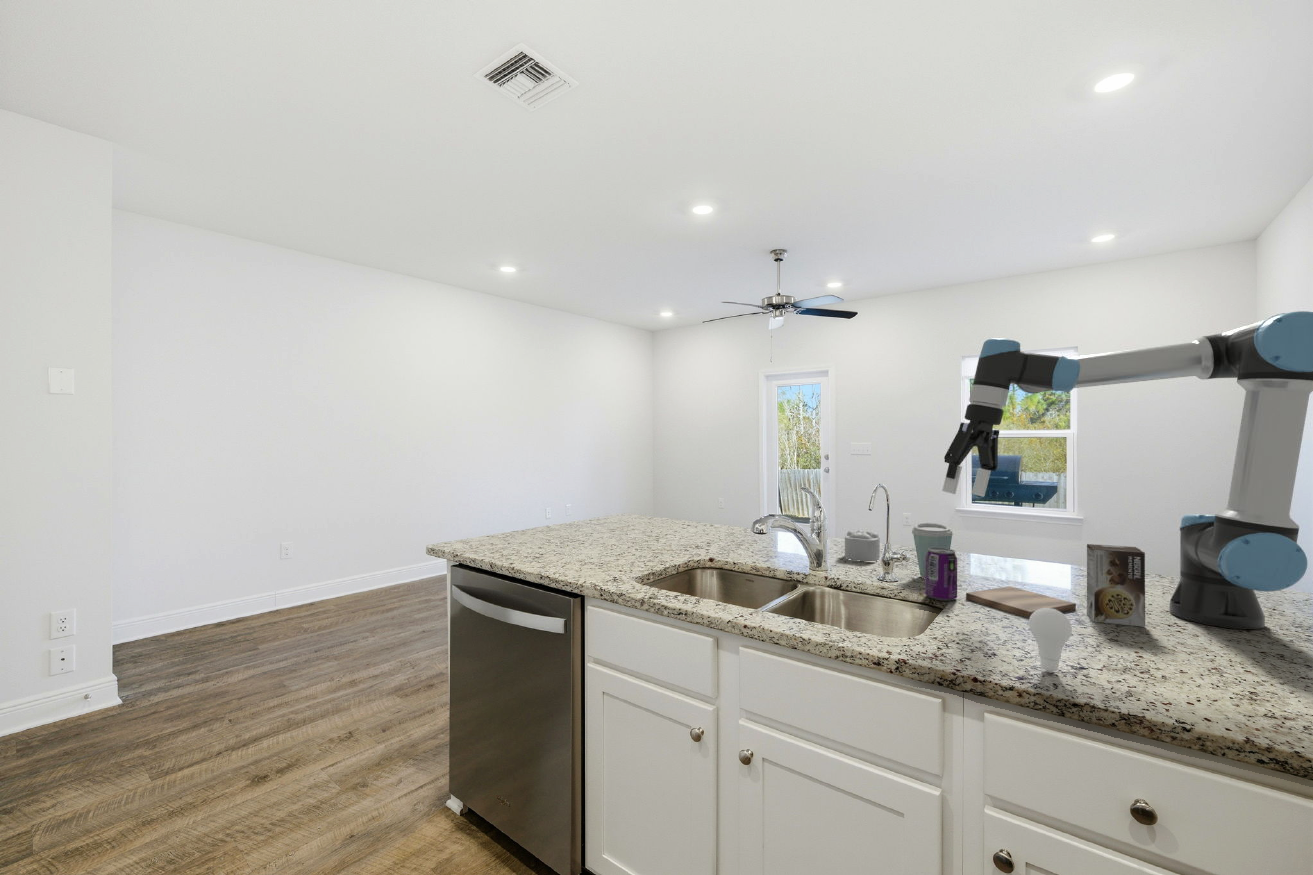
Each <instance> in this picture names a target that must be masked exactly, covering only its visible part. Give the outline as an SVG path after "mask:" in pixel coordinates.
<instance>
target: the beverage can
mask: <svg viewBox="0 0 1313 875" xmlns="http://www.w3.org/2000/svg"><path fill="white" fill-rule="evenodd" d="M924 580H925V581H924V582H925V584H924V585H925V589H924V590H925V591H924V594H925V595H926V596H928V597H929V598H931V599H932V600H936V601H941V602H950V601H952V600H956V599H957V598H958V557H957V555H956V550H954V549H951V548H950V549H946V548H928V553H927V554H926V576H925V579H924Z"/></svg>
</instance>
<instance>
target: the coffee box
mask: <svg viewBox="0 0 1313 875" xmlns="http://www.w3.org/2000/svg"><path fill="white" fill-rule="evenodd" d="M1086 615H1087V616H1088V617H1089V618H1090V619H1091V620H1092V621H1093V622H1094V623H1103V624H1113V625H1122V626H1123V625H1124V626H1132V627H1141V628H1146V553H1145V551H1143V550H1141V549H1140V548H1138V547H1136V546H1128V545H1127V546H1124V545H1110V544H1109V545H1108V544H1093V543H1091V544H1090V543H1087V544H1086Z"/></svg>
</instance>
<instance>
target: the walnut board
mask: <svg viewBox="0 0 1313 875" xmlns="http://www.w3.org/2000/svg"><path fill="white" fill-rule="evenodd" d="M965 599H966V600H968V601H970V602H971V601H972V602H974V603H978V604H981V605H984V606H987V607H990V608H995V609H997V610H1001V611H1005V612H1008V613H1011V614H1014V615H1017V616H1021V617H1024V618H1028V619H1030V616H1031V615H1032V613H1033V612H1035V611H1036V610H1038V609H1041V608H1052V609H1055V610H1058V611H1060V612H1061V613H1067V612H1071V611H1076V608H1077V607H1076V606H1077V605H1076V604H1077V603H1076V602H1071V601H1068V600H1064V599H1061V598H1057V597H1054V596H1048V595H1046V594H1042V593H1037V592H1033V591H1030V590H1026V589H1022V588H1018V587H1014V586H1010V585H1009V586H1002V587H995V588H989V589H984V590H975V591H970V592H966V593H965Z"/></svg>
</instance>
